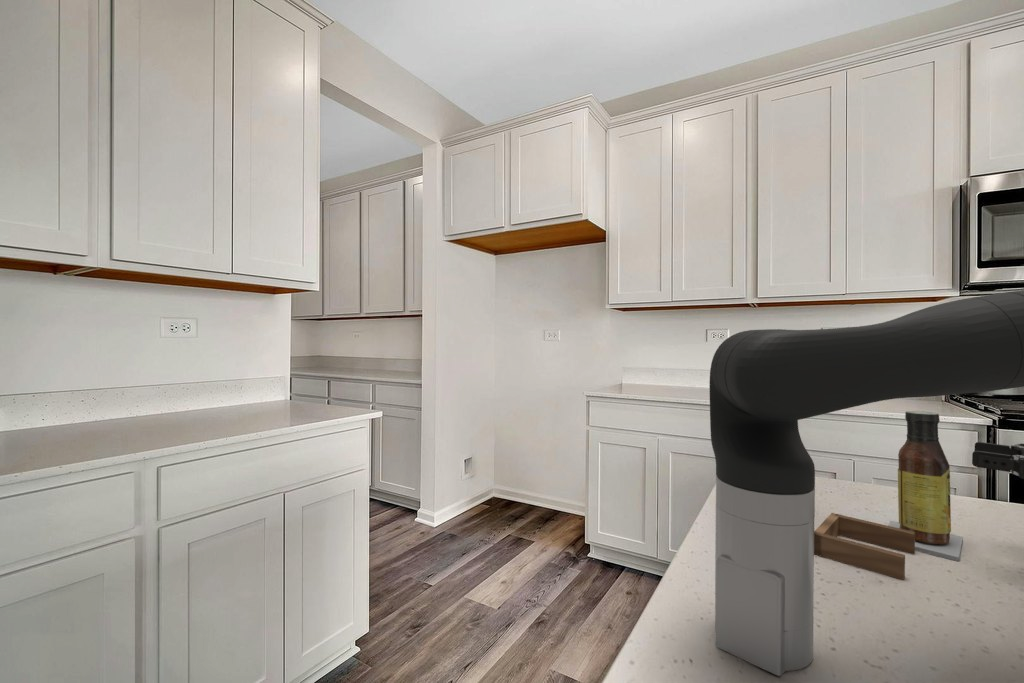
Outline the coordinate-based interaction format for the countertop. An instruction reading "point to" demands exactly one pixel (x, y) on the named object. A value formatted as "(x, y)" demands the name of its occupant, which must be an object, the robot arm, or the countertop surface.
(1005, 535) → the countertop surface
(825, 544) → the walnut cradle
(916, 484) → the sauce bottle
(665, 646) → the countertop surface
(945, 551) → the felt mat
